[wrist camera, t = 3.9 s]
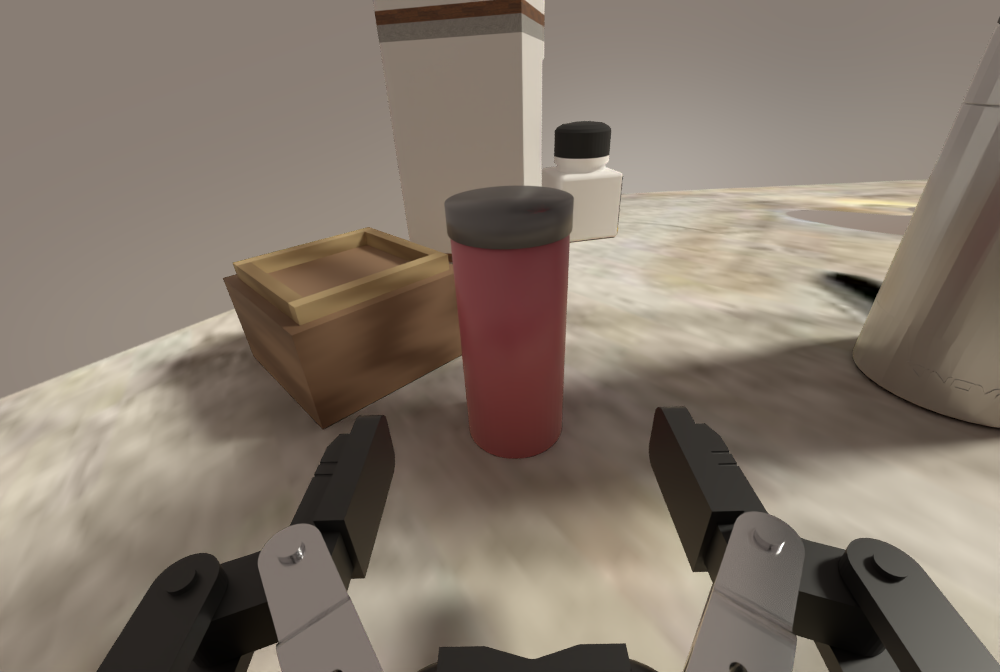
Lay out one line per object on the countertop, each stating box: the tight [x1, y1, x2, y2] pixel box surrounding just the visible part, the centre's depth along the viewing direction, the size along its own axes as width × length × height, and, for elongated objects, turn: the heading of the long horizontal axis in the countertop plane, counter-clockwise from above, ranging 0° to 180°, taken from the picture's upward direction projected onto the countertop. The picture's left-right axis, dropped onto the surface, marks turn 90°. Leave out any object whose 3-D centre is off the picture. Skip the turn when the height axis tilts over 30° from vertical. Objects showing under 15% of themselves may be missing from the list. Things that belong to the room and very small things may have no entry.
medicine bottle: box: [542, 121, 623, 242], centre depth 50 cm, size 7×7×12 cm
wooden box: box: [223, 227, 462, 429], centre depth 29 cm, size 11×11×7 cm
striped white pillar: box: [373, 0, 545, 264], centre depth 38 cm, size 11×11×35 cm
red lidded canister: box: [444, 186, 574, 459], centre depth 20 cm, size 5×5×12 cm
